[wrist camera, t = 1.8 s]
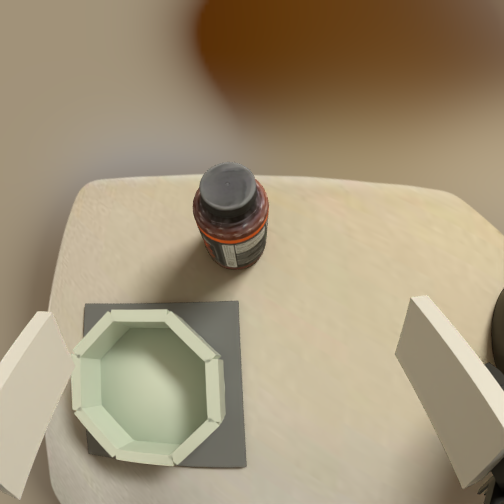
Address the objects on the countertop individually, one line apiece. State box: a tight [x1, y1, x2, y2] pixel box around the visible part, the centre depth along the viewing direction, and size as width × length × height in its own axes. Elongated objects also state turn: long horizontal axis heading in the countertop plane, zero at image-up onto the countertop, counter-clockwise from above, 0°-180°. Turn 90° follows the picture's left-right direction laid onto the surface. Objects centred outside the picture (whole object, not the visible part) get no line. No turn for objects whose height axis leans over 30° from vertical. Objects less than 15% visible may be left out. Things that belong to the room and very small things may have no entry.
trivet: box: [84, 301, 247, 467], centre depth 27 cm, size 16×16×1 cm
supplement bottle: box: [193, 162, 269, 269], centre depth 27 cm, size 6×6×11 cm
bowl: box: [71, 309, 226, 466], centre depth 25 cm, size 13×13×5 cm
